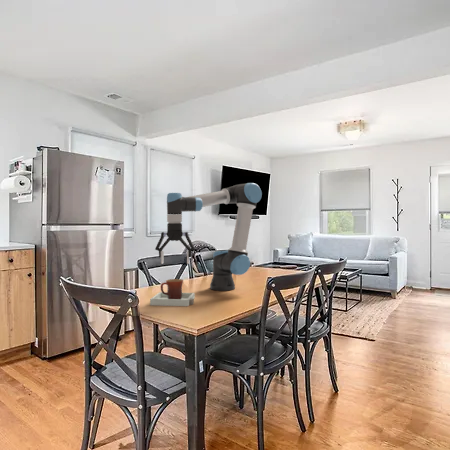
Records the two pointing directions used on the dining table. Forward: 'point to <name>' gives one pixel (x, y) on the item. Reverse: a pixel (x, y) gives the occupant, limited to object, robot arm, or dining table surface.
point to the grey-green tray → (173, 300)
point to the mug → (173, 288)
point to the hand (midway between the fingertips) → (175, 263)
